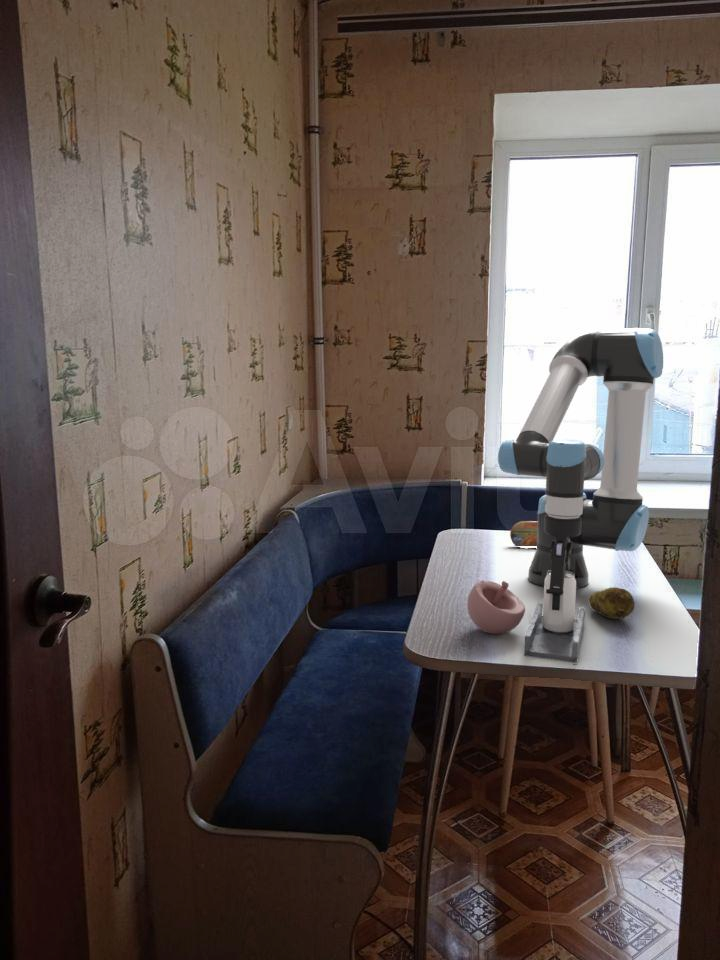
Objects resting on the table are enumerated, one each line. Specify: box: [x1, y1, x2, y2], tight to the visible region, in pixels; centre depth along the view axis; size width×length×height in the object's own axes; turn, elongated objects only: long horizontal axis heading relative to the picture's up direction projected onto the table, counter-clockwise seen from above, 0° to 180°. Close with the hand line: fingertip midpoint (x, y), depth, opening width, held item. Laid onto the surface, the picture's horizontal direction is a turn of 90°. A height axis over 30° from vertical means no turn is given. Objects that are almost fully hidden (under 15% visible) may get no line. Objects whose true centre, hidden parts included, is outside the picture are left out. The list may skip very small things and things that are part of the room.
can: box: [542, 570, 577, 633], centre depth 161 cm, size 6×6×12 cm
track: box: [523, 601, 586, 663], centre depth 158 cm, size 22×10×4 cm, turn 160°
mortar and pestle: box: [466, 580, 526, 635], centre depth 161 cm, size 12×12×12 cm
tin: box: [509, 520, 538, 547], centre depth 233 cm, size 15×3×8 cm, turn 88°
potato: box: [588, 587, 636, 620], centre depth 170 cm, size 8×13×8 cm, turn 174°
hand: (558, 613), depth 161 cm, fingers open, 13 cm apart
